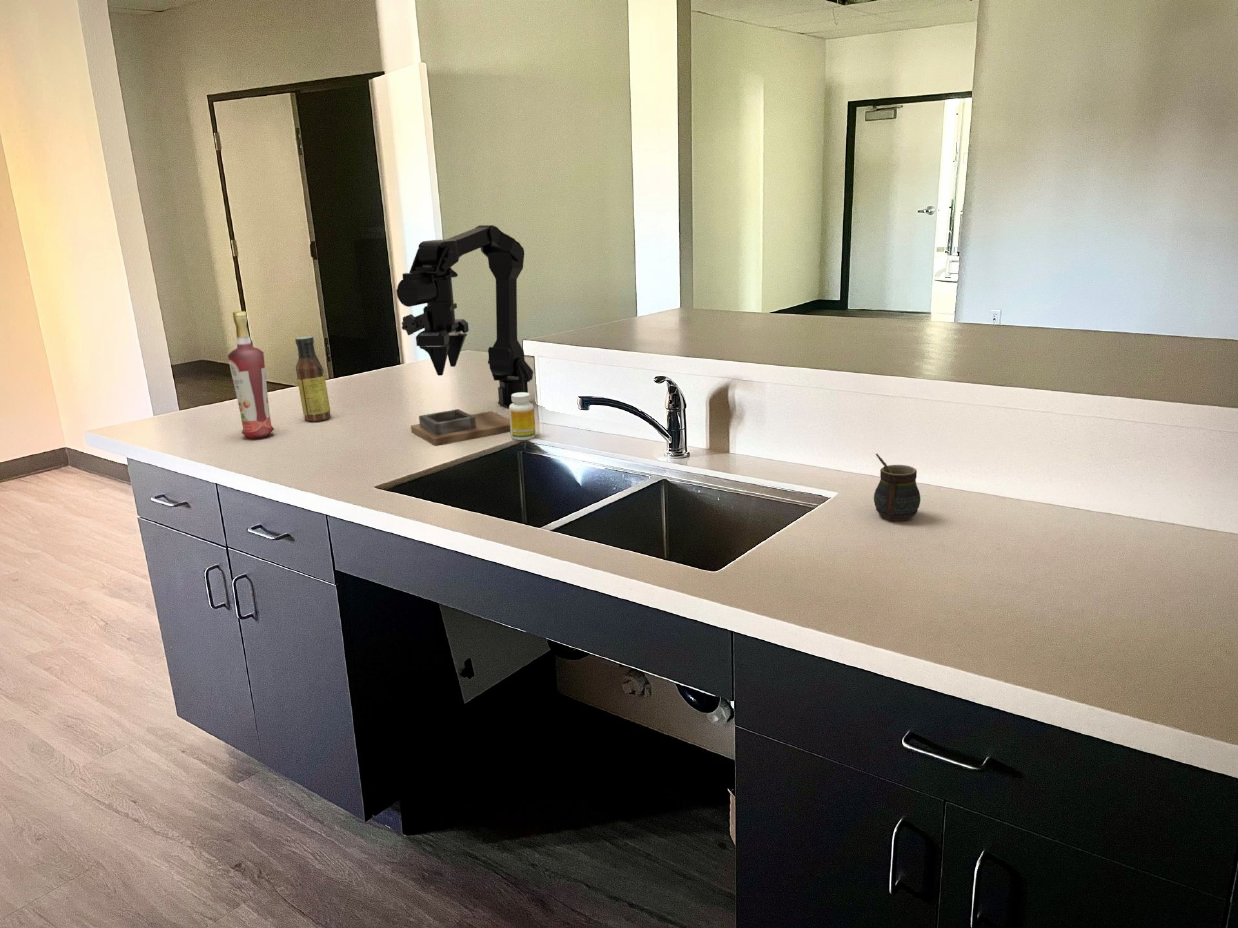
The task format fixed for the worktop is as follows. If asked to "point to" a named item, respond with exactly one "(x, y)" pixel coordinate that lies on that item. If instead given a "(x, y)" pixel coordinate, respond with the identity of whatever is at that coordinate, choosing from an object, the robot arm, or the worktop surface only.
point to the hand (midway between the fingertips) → (446, 370)
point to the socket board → (459, 426)
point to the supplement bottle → (521, 417)
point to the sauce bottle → (311, 382)
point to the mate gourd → (897, 492)
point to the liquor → (250, 382)
